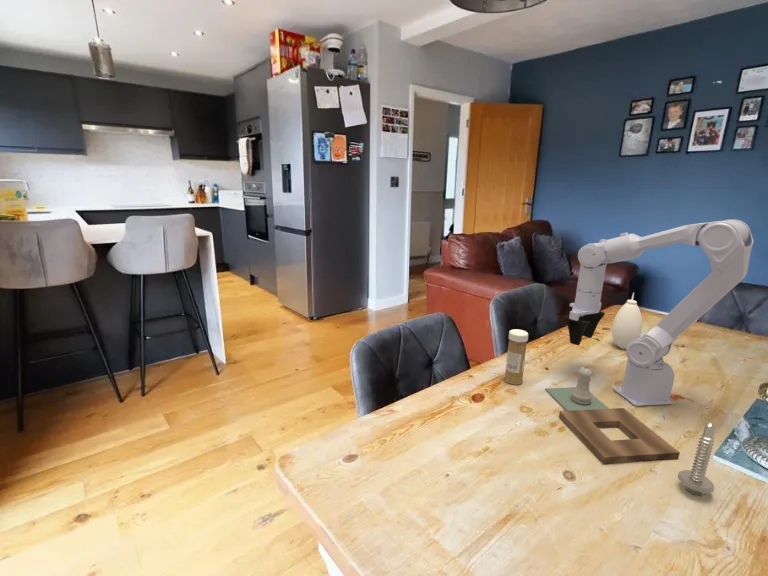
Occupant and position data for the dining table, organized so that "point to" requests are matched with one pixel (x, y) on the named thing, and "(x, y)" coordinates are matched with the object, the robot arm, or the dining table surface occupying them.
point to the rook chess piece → (582, 387)
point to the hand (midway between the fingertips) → (581, 340)
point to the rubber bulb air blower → (627, 324)
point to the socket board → (635, 449)
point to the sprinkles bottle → (516, 356)
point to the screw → (700, 465)
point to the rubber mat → (568, 404)
